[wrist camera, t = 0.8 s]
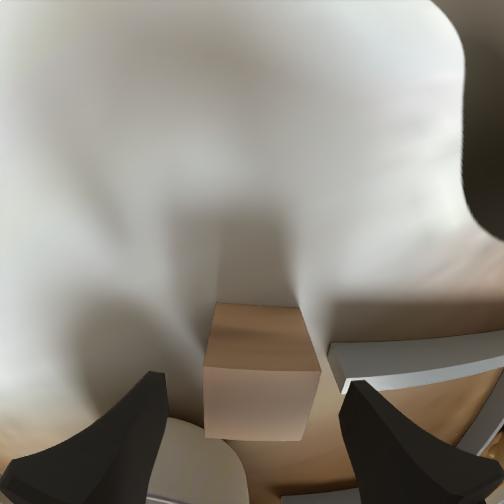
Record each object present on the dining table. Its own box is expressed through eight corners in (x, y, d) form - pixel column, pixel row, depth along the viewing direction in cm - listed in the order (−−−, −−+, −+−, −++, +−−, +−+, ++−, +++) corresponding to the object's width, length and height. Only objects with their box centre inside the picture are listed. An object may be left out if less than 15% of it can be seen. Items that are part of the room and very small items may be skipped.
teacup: (75, 405, 16) (31, 485, 9) (198, 369, 15) (174, 496, 7) (182, 497, 20) (172, 564, 12) (291, 477, 19) (301, 557, 11)
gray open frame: (443, 467, 21) (452, 485, 18) (280, 499, 20) (282, 524, 17) (528, 325, 16) (549, 341, 13) (330, 342, 15) (346, 378, 12)
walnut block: (287, 371, 15) (300, 440, 10) (214, 367, 15) (204, 437, 10) (299, 307, 14) (321, 371, 9) (216, 302, 14) (202, 366, 9)
